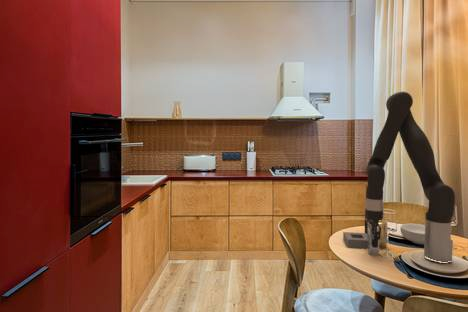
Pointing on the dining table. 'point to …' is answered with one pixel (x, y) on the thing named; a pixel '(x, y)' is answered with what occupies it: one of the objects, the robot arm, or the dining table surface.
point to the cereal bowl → (414, 233)
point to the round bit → (383, 235)
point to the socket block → (355, 240)
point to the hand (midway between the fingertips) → (373, 244)
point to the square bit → (369, 244)
